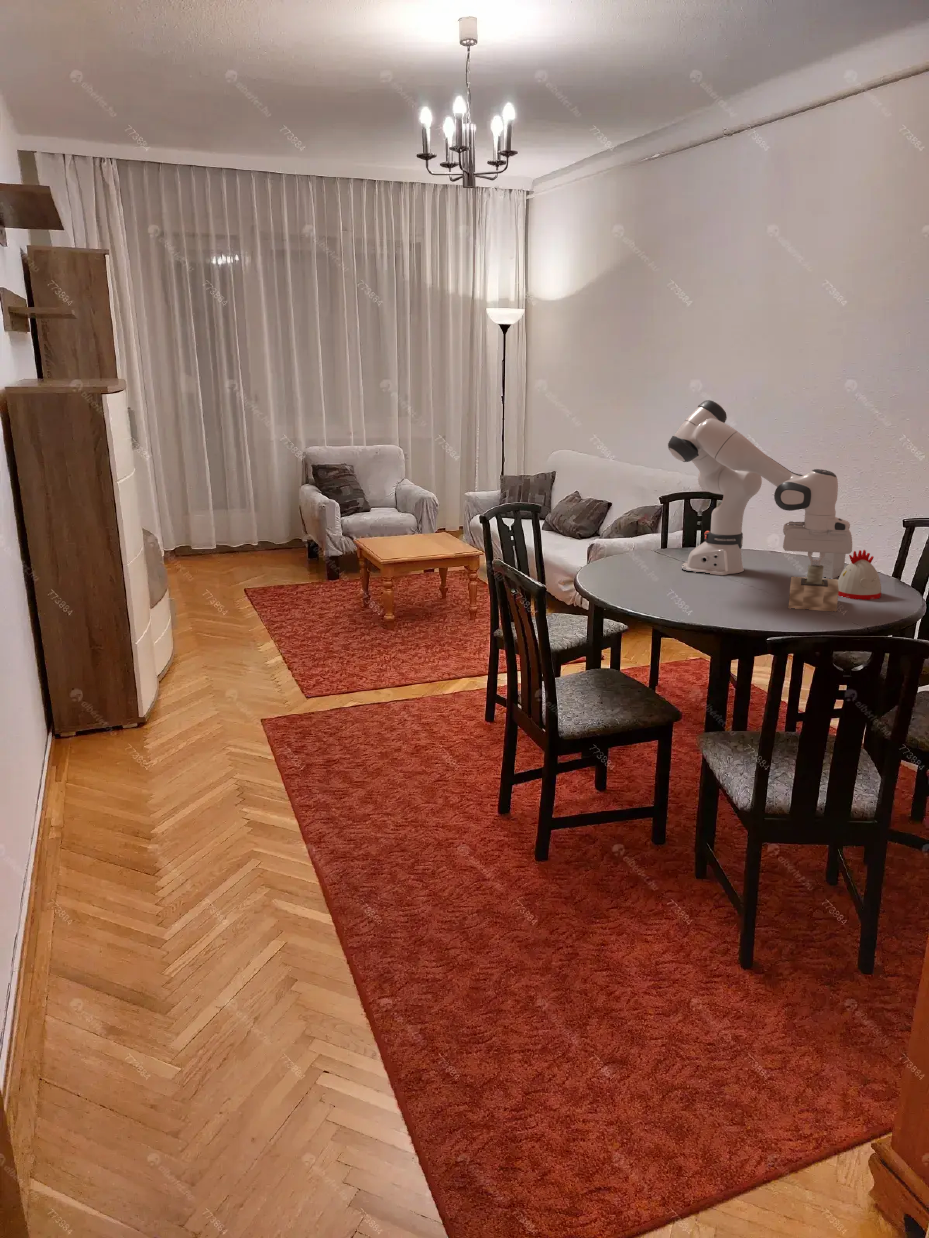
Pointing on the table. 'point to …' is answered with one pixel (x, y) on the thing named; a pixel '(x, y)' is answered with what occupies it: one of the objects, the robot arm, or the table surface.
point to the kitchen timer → (860, 578)
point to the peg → (815, 574)
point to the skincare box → (833, 564)
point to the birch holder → (813, 594)
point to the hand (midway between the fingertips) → (815, 565)
